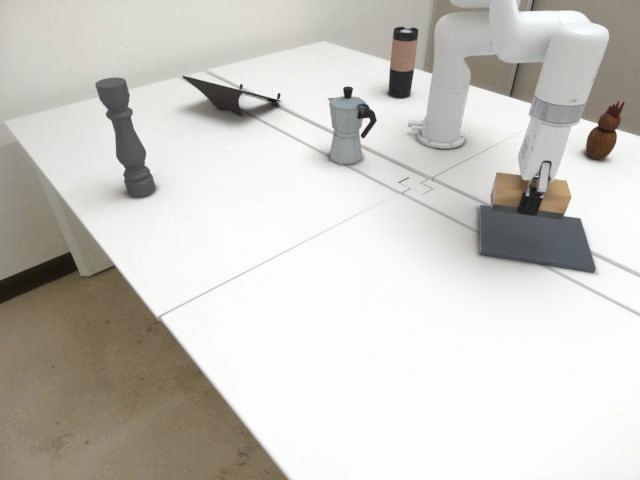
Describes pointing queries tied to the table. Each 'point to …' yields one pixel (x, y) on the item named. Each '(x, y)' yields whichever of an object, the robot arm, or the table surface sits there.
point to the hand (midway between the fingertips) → (525, 203)
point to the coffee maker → (348, 127)
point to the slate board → (535, 239)
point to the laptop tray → (225, 95)
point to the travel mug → (402, 61)
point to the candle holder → (126, 137)
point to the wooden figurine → (604, 133)
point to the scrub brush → (513, 187)
